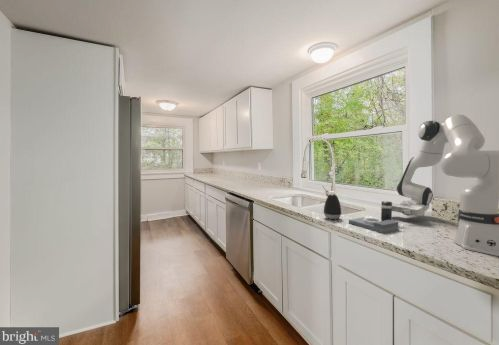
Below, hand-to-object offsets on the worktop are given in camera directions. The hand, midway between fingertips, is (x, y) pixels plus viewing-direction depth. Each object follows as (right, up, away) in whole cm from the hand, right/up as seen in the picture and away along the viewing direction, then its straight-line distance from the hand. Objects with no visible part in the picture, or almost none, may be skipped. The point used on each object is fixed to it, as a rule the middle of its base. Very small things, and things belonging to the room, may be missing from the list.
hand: (394, 210), depth 133 cm
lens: (-7, -7, -3) cm, 10 cm away
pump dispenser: (-33, -7, +8) cm, 34 cm away
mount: (-17, -7, -8) cm, 20 cm away
